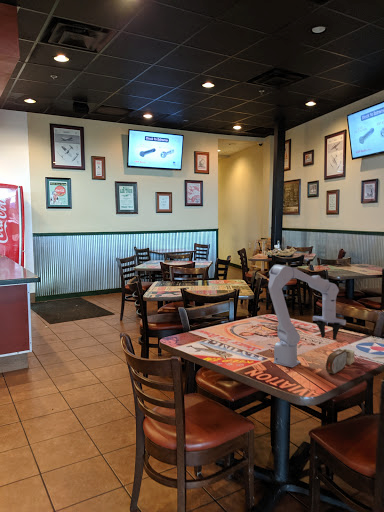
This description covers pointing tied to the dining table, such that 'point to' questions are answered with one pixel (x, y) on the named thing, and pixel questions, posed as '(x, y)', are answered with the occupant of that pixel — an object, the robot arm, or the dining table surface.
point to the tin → (336, 361)
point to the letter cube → (349, 356)
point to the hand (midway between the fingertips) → (328, 338)
